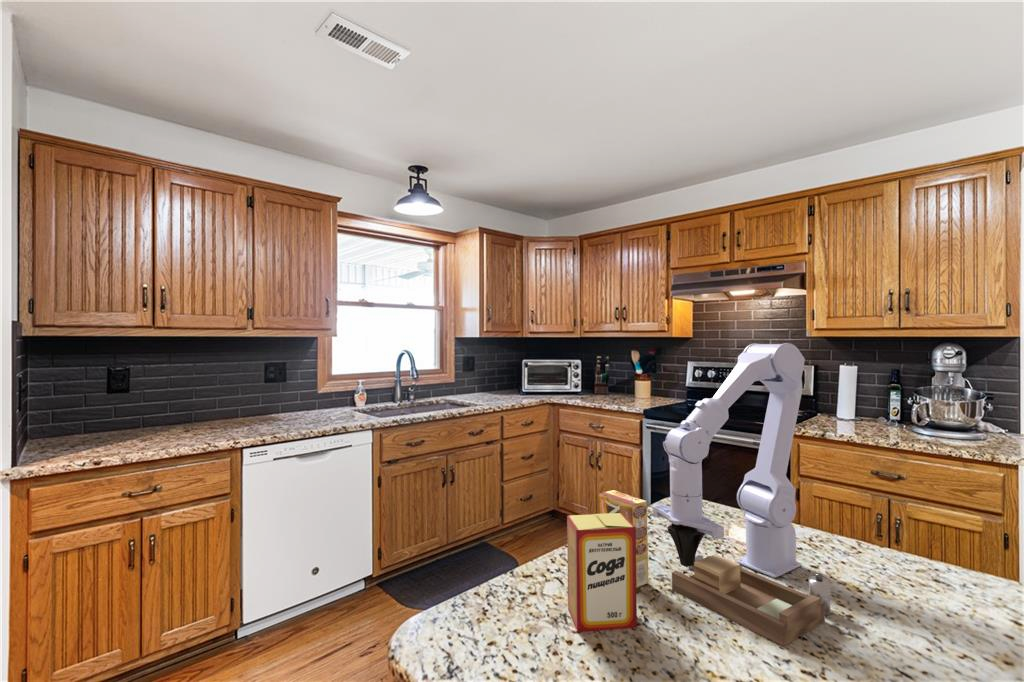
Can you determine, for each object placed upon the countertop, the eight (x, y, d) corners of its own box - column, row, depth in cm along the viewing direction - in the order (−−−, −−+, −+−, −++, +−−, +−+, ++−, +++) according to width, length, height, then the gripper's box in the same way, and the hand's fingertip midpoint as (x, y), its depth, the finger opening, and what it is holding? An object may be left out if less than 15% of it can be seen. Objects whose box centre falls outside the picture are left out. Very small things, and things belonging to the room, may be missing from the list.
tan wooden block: (716, 575, 91) (715, 554, 91) (741, 586, 87) (740, 564, 87) (693, 584, 88) (693, 562, 88) (718, 596, 83) (718, 573, 83)
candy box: (649, 583, 90) (648, 500, 90) (633, 590, 88) (632, 504, 88) (614, 566, 98) (614, 489, 98) (599, 571, 95) (598, 492, 95)
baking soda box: (577, 632, 75) (576, 527, 76) (568, 609, 82) (567, 513, 82) (636, 627, 76) (635, 524, 76) (623, 605, 83) (622, 510, 83)
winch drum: (814, 604, 83) (814, 568, 83) (834, 612, 80) (833, 575, 80) (805, 609, 81) (804, 572, 81) (824, 617, 79) (824, 580, 79)
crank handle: (697, 559, 101) (697, 546, 101) (703, 561, 100) (703, 547, 100) (688, 570, 96) (688, 556, 96) (694, 572, 95) (694, 558, 95)
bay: (713, 572, 95) (713, 551, 95) (825, 621, 78) (824, 595, 78) (672, 589, 88) (671, 566, 88) (783, 646, 71) (782, 618, 71)
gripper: (642, 486, 97) (643, 555, 97) (705, 506, 84) (706, 586, 84) (666, 481, 100) (667, 547, 100) (730, 499, 88) (731, 575, 88)
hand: (686, 564), depth 93 cm, fingers closed
